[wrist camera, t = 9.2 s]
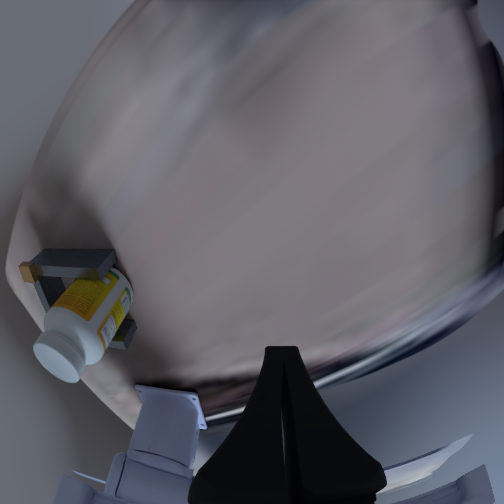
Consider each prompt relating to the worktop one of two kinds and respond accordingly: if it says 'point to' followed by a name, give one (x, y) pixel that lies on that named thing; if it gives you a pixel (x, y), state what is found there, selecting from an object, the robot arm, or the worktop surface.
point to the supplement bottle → (83, 324)
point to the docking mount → (72, 266)
